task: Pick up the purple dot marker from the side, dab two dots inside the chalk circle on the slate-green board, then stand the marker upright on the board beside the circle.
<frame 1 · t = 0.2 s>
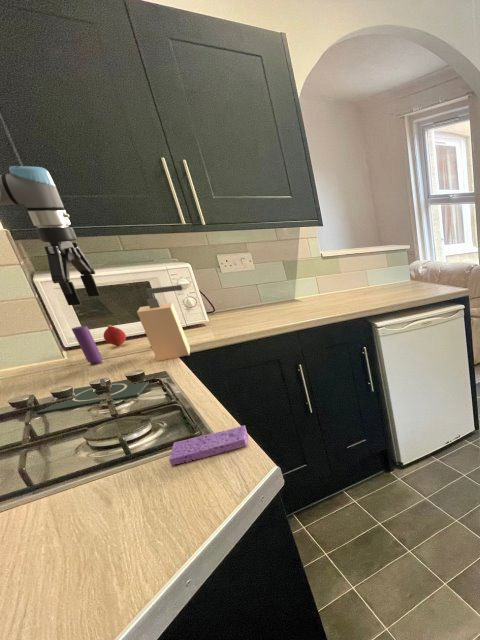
hand: (85, 300, 129), 20 cm above the worktop, tool pointing down, fingers open, 13 cm apart
sponge: (212, 449, 84), on the worktop
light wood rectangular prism: (182, 353, 141), on the worktop
red rounded lump: (119, 346, 153), on the worktop
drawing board: (101, 394, 112), on the worktop
supplement bottle: (159, 345, 151), on the worktop
dot marker: (96, 363, 136), on the worktop
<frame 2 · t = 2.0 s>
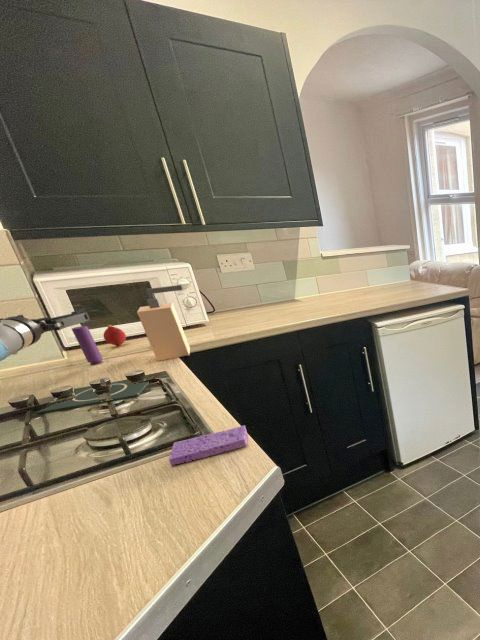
hand: (54, 315, 121), 18 cm above the worktop, tool horizontal, fingers open, 13 cm apart
nothing on the worktop moved.
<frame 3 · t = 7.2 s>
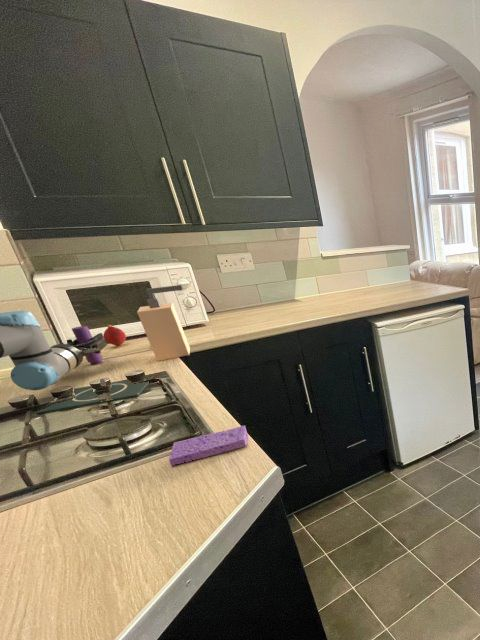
hand: (93, 338, 138), 7 cm above the worktop, tool horizontal, fingers closed on dot marker, 4 cm apart
dot marker: (96, 363, 136), on the worktop, touching gripper
everything else where it was.
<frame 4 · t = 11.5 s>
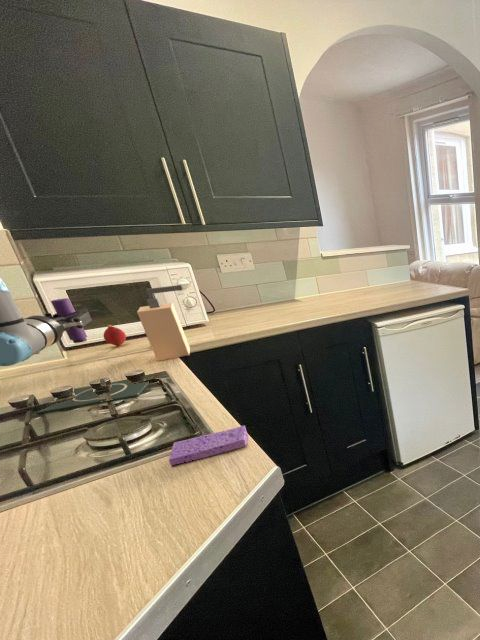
hand: (77, 313, 121), 18 cm above the worktop, tool horizontal, fingers closed on dot marker, 4 cm apart
dot marker: (80, 341, 119), point 11 cm above the worktop, touching gripper
everything else where it was.
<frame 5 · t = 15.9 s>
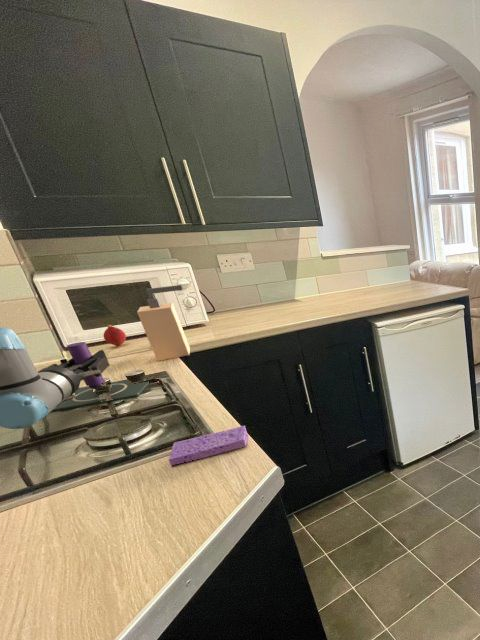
hand: (93, 356, 114), 9 cm above the worktop, tool horizontal, fingers closed on dot marker, 4 cm apart
dot marker: (97, 386, 112), point 2 cm above the worktop, touching gripper
everything else where it was.
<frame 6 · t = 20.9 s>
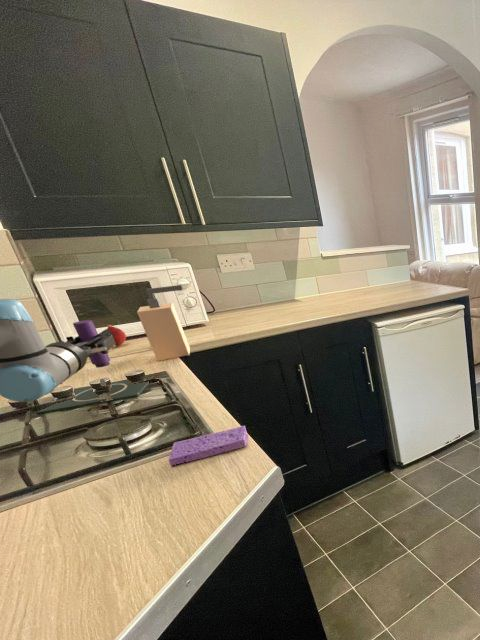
hand: (99, 335, 113), 14 cm above the worktop, tool horizontal, fingers closed on dot marker, 4 cm apart
dot marker: (103, 365, 112), point 7 cm above the worktop, touching gripper
everything else where it was.
when the fingers open (8 cm above the worktop, at t = 24.8 s): dot marker stays where it is, resting on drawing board.
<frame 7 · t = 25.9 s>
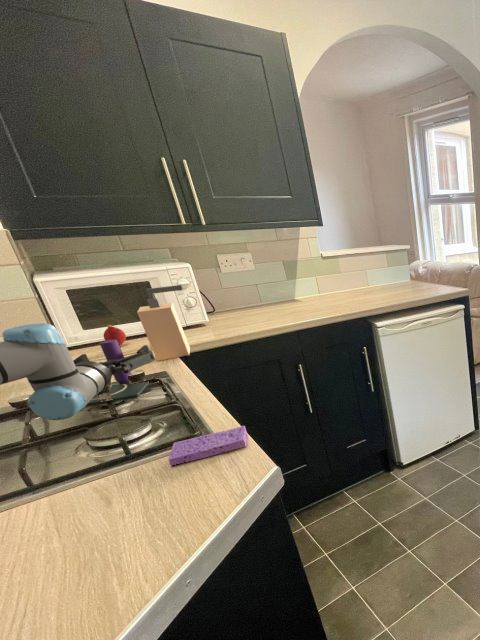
hand: (117, 354, 117), 8 cm above the worktop, tool horizontal, fingers open, 13 cm apart
dot marker: (125, 382, 117), point 1 cm above the worktop, touching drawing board
everything else where it was.
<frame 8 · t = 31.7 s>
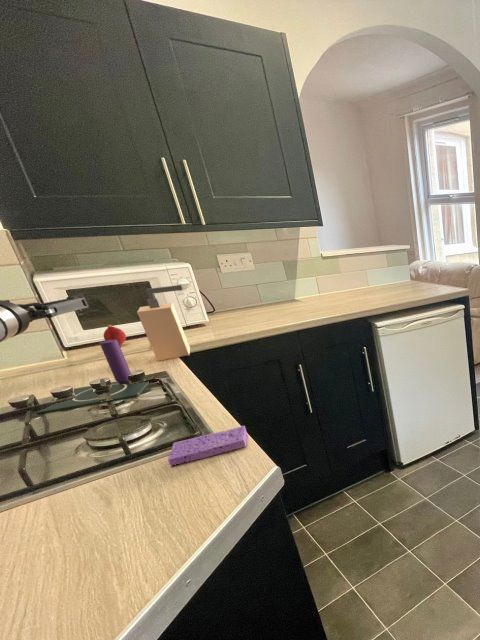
hand: (47, 301, 102), 25 cm above the worktop, tool horizontal, fingers open, 13 cm apart
nothing on the worktop moved.
at the end: dot marker 0.4 cm from the target spot on the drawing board, point 0.6 cm above the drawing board's base; dot marker tilted 2°; the gripper is holding nothing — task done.
